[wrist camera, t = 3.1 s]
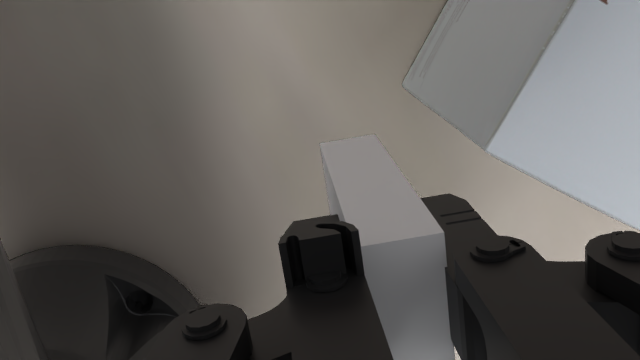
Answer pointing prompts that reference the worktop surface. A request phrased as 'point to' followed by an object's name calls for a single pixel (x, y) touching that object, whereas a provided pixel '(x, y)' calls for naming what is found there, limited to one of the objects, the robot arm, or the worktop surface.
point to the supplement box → (543, 91)
